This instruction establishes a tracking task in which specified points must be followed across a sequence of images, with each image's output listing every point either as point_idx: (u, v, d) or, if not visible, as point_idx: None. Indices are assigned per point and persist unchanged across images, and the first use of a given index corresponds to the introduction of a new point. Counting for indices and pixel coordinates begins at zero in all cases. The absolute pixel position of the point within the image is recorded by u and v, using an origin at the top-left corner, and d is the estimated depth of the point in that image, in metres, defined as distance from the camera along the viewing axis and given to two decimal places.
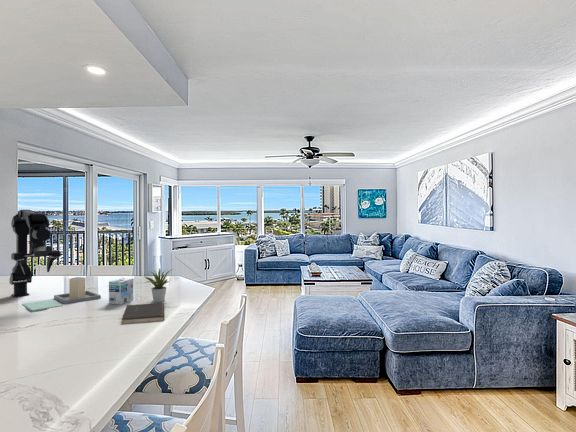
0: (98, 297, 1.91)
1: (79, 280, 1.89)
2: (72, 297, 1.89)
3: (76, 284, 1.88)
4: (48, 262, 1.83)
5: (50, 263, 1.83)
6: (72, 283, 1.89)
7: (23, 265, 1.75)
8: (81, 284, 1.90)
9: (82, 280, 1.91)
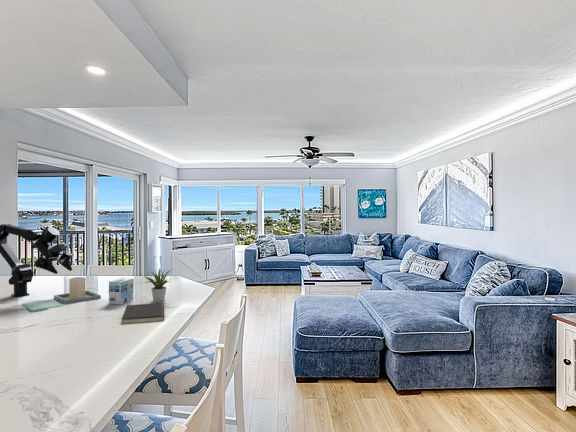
0: (98, 297, 1.91)
1: (79, 280, 1.89)
2: (72, 297, 1.89)
3: (76, 284, 1.88)
4: (66, 263, 1.98)
5: (68, 262, 1.98)
6: (72, 283, 1.89)
7: (51, 265, 1.88)
8: (81, 284, 1.90)
9: (82, 280, 1.91)
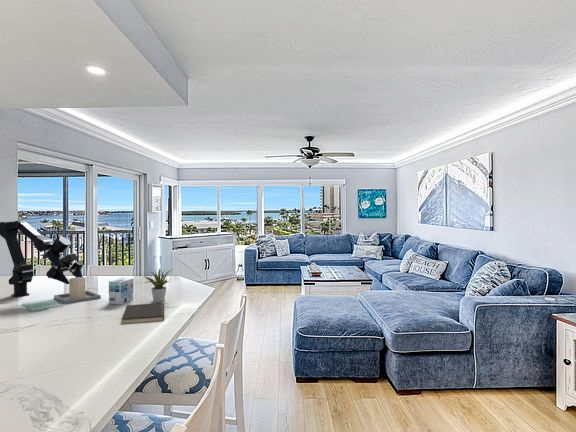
0: (98, 297, 1.91)
1: (79, 280, 1.89)
2: (72, 297, 1.89)
3: (76, 284, 1.88)
4: (77, 273, 1.97)
5: (80, 272, 1.97)
6: (72, 283, 1.89)
7: (63, 275, 1.86)
8: (81, 284, 1.90)
9: (82, 280, 1.91)
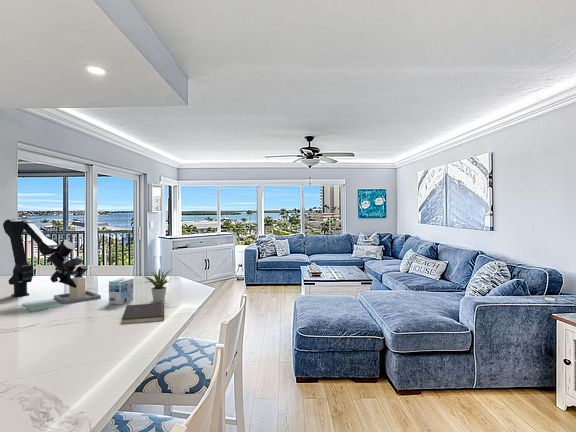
0: (98, 297, 1.91)
1: (79, 280, 1.89)
2: (72, 297, 1.89)
3: (76, 284, 1.88)
4: None
5: None
6: None
7: (70, 279, 1.88)
8: (81, 284, 1.90)
9: (82, 280, 1.91)
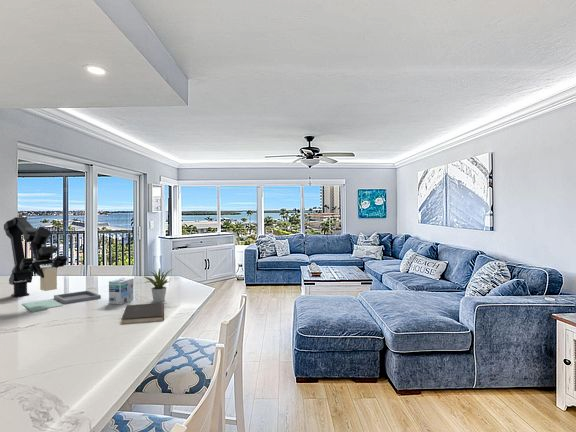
0: (98, 297, 1.91)
1: (47, 270, 1.76)
2: (42, 288, 1.78)
3: (44, 274, 1.76)
4: None
5: (55, 266, 1.82)
6: None
7: (39, 268, 1.77)
8: (50, 274, 1.77)
9: (51, 270, 1.78)
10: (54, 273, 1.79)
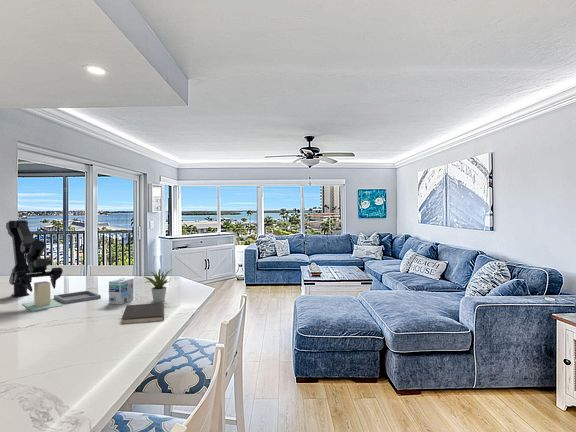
0: (98, 297, 1.91)
1: (40, 285, 1.74)
2: (35, 303, 1.76)
3: (37, 289, 1.74)
4: (52, 280, 1.82)
5: (54, 278, 1.82)
6: (35, 287, 1.76)
7: (27, 281, 1.74)
8: (43, 290, 1.76)
9: (45, 285, 1.76)
10: (47, 288, 1.77)
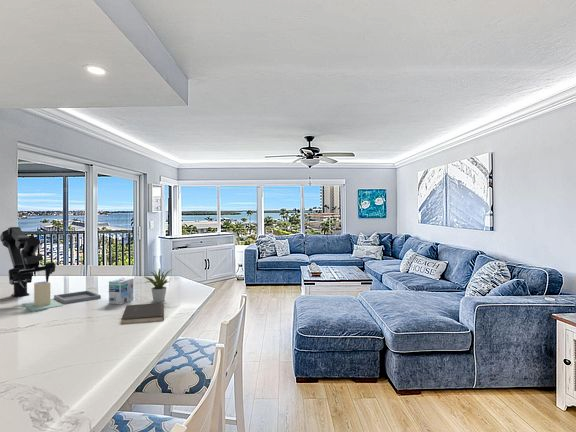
0: (98, 297, 1.91)
1: (40, 285, 1.74)
2: (35, 303, 1.76)
3: (37, 289, 1.74)
4: (45, 275, 1.88)
5: (47, 274, 1.87)
6: (35, 287, 1.76)
7: (20, 278, 1.80)
8: (43, 290, 1.76)
9: (45, 285, 1.76)
10: (47, 288, 1.77)
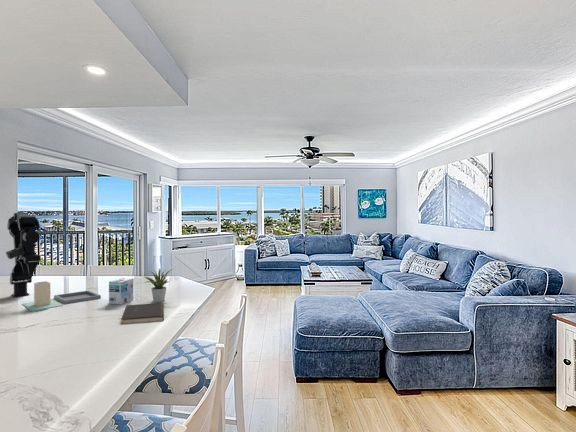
0: (98, 297, 1.91)
1: (40, 285, 1.74)
2: (35, 303, 1.76)
3: (37, 289, 1.74)
4: None
5: (27, 267, 1.81)
6: (35, 287, 1.76)
7: (21, 264, 1.89)
8: (43, 290, 1.76)
9: (45, 285, 1.76)
10: (47, 288, 1.77)
